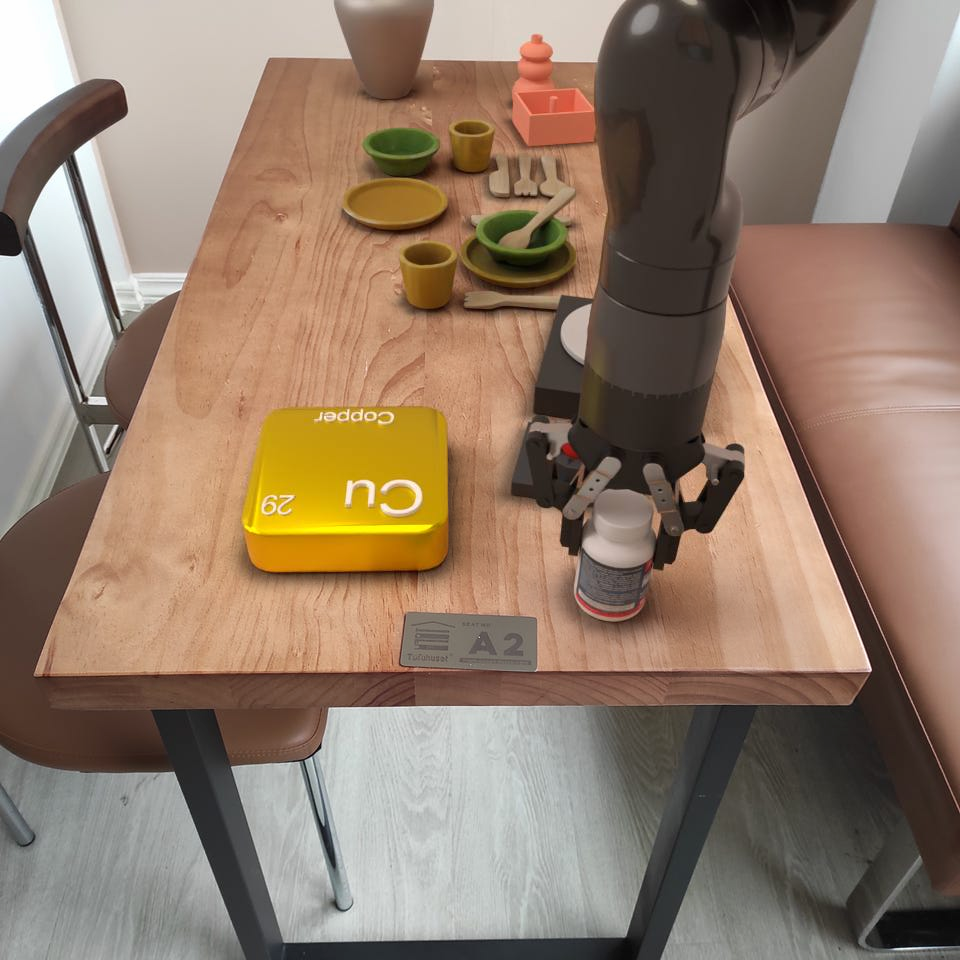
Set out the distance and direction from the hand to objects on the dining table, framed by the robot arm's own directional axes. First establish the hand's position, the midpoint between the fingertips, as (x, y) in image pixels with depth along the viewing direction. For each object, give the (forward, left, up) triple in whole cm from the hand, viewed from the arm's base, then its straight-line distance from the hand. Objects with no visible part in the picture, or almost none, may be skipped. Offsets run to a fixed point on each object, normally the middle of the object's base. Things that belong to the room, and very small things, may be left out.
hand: (616, 553), depth 65 cm
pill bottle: (0, 0, -5) cm, 5 cm away
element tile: (+21, -5, -5) cm, 22 cm away
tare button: (+4, -13, -2) cm, 14 cm away
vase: (+44, -94, -5) cm, 104 cm away
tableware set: (+24, -54, -5) cm, 59 cm away
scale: (+2, -28, -4) cm, 28 cm away
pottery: (+19, -89, -5) cm, 91 cm away
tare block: (+4, -13, -4) cm, 14 cm away
